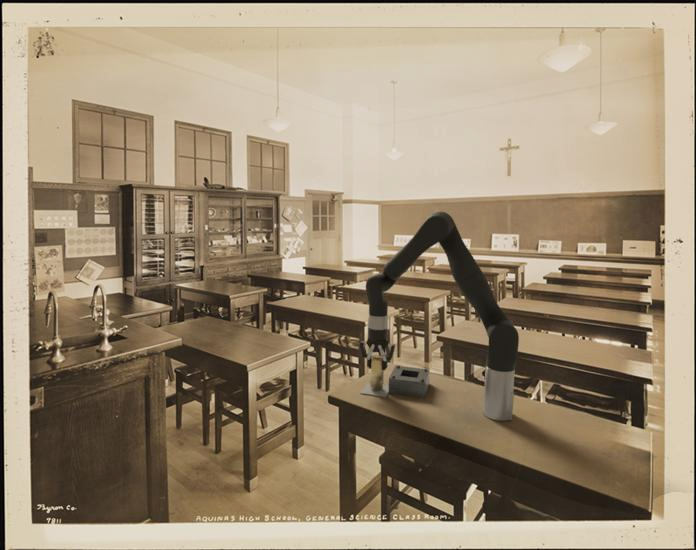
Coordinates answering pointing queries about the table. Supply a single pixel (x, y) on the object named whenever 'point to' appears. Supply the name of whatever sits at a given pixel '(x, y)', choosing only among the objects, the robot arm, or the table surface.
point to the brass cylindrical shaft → (376, 372)
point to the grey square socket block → (409, 381)
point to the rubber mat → (375, 391)
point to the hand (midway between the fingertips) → (377, 368)
